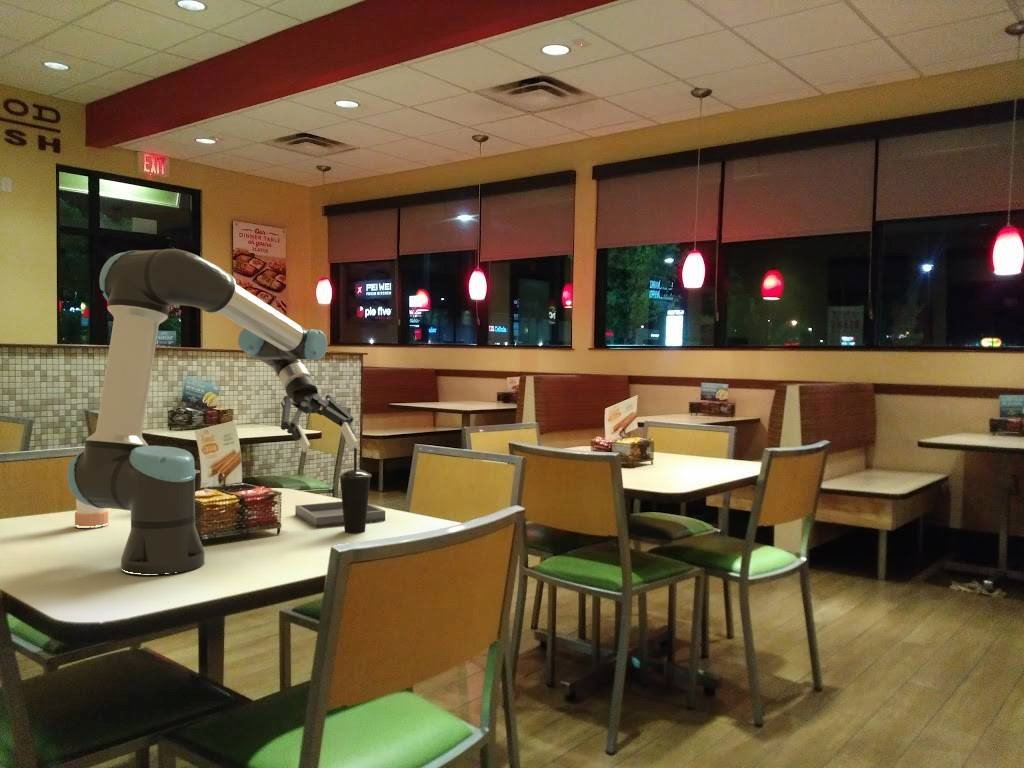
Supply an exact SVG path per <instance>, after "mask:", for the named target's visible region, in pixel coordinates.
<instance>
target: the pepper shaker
mask: <svg viewBox="0 0 1024 768" xmlns="http://www.w3.org/2000/svg"><path fill="white" fill-rule="evenodd" d="M75 499H76V498H75ZM75 503H76V506H75V507H76V511H75V513H74V526H75V525H79V526H96V525H103V524H106V523H108V524H109V510H108V508H97V507H94V506H90V505H86V504H84V503H82V502H80V501H79V500H77V499H76V502H75Z"/></svg>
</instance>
